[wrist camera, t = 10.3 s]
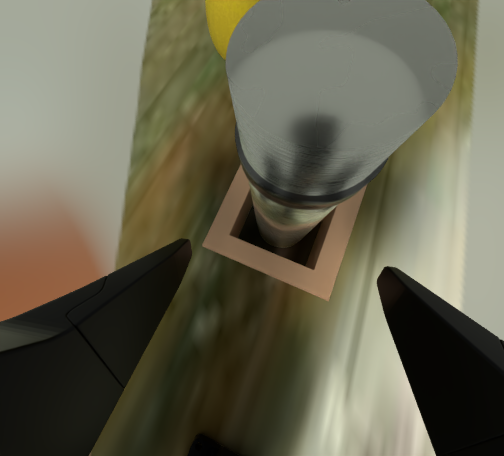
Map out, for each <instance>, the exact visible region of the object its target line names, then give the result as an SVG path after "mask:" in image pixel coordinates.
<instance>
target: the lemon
mask: <svg viewBox="0 0 504 456" xmlns="http://www.w3.org/2000/svg"><path fill="white" fill-rule="evenodd" d="M258 1H260V0H205V3H206V16H207V22H208V27H209V31H210V35H211V38H212V41H213V43H214V45H215V47H216V49H217V51H218V52H219V54H220V55H221V57H222V58H223V59H225V60H226V53H227V47H228V44H229V40H230V37H231V35H232V33H233V31H234V29H235V27H236V26H237V24H238V23H239V21H240V20H241V18H242V17H243V16H244V15H245V14H246V13H247V11H248V10H249V9H250V8H252V7H253V6H254V5H255V4H256V3H257V2H258Z"/></svg>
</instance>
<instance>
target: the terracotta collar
mask: <svg viewBox="0 0 504 456" xmlns="http://www.w3.org/2000/svg"><path fill="white" fill-rule="evenodd" d="M366 187H367V185H366V186H364V187H363V188H362V189H361V190H360V191H359V192H358V193H356V194H355V195H354V196H352V197H351V198H349V199H348V200H346V201H344V202H342V203H340V204H338V205H337V206H336V207H335V208H334V209H333V210H332V211H331V212H330V213H329V214H328V215H327V216H325V217H324V218H323V220H322V222H321V225H320V228H319V230H318V233H317V236H316V239H315V241H314V244H313V247H312V250H311V252H310V255H309V258H308V261H307V263H306V266H302V265H300V264H298V263H295V262H293V261H290V260H288V259H286V258H283V257H281V256H278V255H276V254H274V253H271V252H269V251H266V250H264V249H262V248H259V247H257V246H254V245H252V244H250V243H247V242H245V241H242V240H240V239H238V237H239V234H240V232H241V230H242V228H243V225H244V223H245V221H246V219H247V216H248V214H249V212H250V210H251V207H252V205H253V200H252V196H251V191H250V186H249V181H248V179H247V177H246V175H245V173H244V171H243V169H242V166H241V165H240V167H239V169H238V171H237V173H236V175H235V177H234V179H233V182H232V184H231V186H230V188H229V190H228V192H227V194H226V196H225V198H224V200H223V203H222V205H221V207H220V209H219V211H218V213H217V215H216V217H215V219H214V222H213V224H212V226H211V228H210V230H209V232H208V234H207V236H206V238H205V240H204V243H203V245H202V246H203V247H205V248H208V249H210V250H212V251H214V252H217V253H219V254H221V255H224V256H226V257H228V258H231V259H233V260H235V261H237V262H240V263H242V264H244V265H247V266H249V267H251V268H253V269H256V270H258V271H260V272H263V273H265V274H267V275H270V276H272V277H274V278H276V279H279V280H281V281H283V282H286V283H288V284H290V285H292V286H295V287H297V288H299V289H302V290H304V291H306V292H309V293H311V294H313V295H315V296H318V297H320V298H322V299H325V300H327V301H329V298H330V295H331V292H332V289H333V286H334V283H335V280H336V277H337V274H338V271H339V268H340V265H341V262H342V259H343V256H344V253H345V250H346V247H347V244H348V241H349V238H350V235H351V232H352V229H353V226H354V223H355V220H356V217H357V214H358V211H359V208H360V205H361V202H362V199H363V196H364V193H365V190H366Z"/></svg>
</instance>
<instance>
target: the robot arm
mask: <svg viewBox="0 0 504 456" xmlns="http://www.w3.org/2000/svg"><path fill="white" fill-rule="evenodd" d="M191 256H192V250H191V243H190V240H189V239H183V238H181V239H179V240H177V241H175V242H173V243H171V244H169V245H167V246H165V247H163V248H161V249H159V250H157V251H155V252H153V253H151V254H149V255H147V256H145V257H143V258H141V259H139V260H137V261H135V262H133V263H131V264H129V265H127V266H125V267H123V268H121V269H119V270H117V271H115V272H113V273H111V274H109V275H108V276H104V277H102V278H100V279H99V280H96V281H94V282H92V283H90V284H88V285H86V286H84V287H82V288H80V289H78V290H75V291H73V292H71V293H69V294H66V295H64V296H62V297H59V298H57V299H55V300H53V301H50V302H48V303H46V304H43V305H41V306H39V307H37V308H34V309H32V310H30V311H27V312H25V313H23V314H20V315H18V316H16V317H13V318H10V319H7V320H5V321H1V322H0V456H89V454H90V452H91V450H92V448H93V447H94V445H95V443H96V441H97V439H98V437H99V435H100V433H101V432H102V430H103V428H104V426H105V424H106V422H107V420H108V419H109V417H110V415H111V413H112V411H113V409H114V407H115V406H116V404H117V402H118V400H119V398H120V396H121V394H122V392H123V391H124V388H125V387H126V385H127V383H128V381H129V379H130V377H131V375H132V374H133V372H134V370H135V368H136V366H137V364H138V362H139V361H140V359H141V357H142V355H143V353H144V351H145V349H146V347H147V346H148V344H149V342H150V340H151V338H152V336H153V334H154V333H155V331H156V329H157V327H158V325H159V323H160V321H161V320H162V318H163V316H164V314H165V312H166V310H167V308H168V307H169V305H170V303H171V301H172V299H173V297H174V295H175V293H176V292H177V290H178V288H179V286H180V284H181V282H182V279H183V277H184V274H185V272H186V269H187V267H188V264H189V262H190V259H191ZM377 287H378V291H379V295H380V299H381V303H382V307H383V311H384V314H385V318H386V321H387V323H388V326H389V329H390V332H391V334H392V337H393V340H394V343H395V345H396V348H397V351H398V353H399V356H400V359H401V362H402V364H403V367H404V370H405V372H406V375H407V378H408V381H409V383H410V386H411V389H412V391H413V394H414V397H415V400H416V402H417V405H418V408H419V411H420V413H421V416H422V419H423V421H424V424H425V427H426V430H427V432H428V435H429V438H430V440H431V443H432V446H433V449H434V451H435V454H436V456H504V341H503V340H500V339H499V338H498V337H497V336H495V335H494V334H493V333H491V332H490V331H488V330H487V329H485V328H484V327H482V326H481V325H479V324H478V323H477V322H475V321H474V320H472V319H471V318H469V317H468V316H466V315H465V314H463V313H462V312H460V311H459V310H458V309H456V308H455V307H453V306H452V305H450V304H449V303H447V302H446V301H444V300H443V299H442V298H440V297H439V296H437V295H436V294H434V293H433V292H431V291H430V290H428V289H427V288H425V287H424V286H423V285H421V284H420V283H418V282H417V281H415V280H414V279H412V278H411V277H409V276H408V275H407V274H405V273H404V272H402V271H401V270H399V269H398V268H396V267H389V266H387V267H384V269H383V270H382V272H381V274H380V275H379V277H378V279H377ZM198 442H199V443H201V444H202V446H199V445H198V444H197V443H198ZM187 456H239V455H238V454H236V453H234V452H233V451H231V450H229V449H228V448H226V447H224V446H222V445H220V444H219V443H217V442H215V441H214V440H212V439H210V438H209V437H207V436H205V435H204V434H198V435H196V437H195V438H194V441H193V443H192V445H191V448H190V450H189V453H188V455H187Z"/></svg>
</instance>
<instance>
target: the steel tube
mask: <svg viewBox="0 0 504 456" xmlns="http://www.w3.org/2000/svg"><path fill="white" fill-rule="evenodd" d="M456 71H457V50H456V45H455V41H454V38H453V36H452V33H451V31H450V29H449V27H448V26H447V24H446V22H445V21H444V19H443V18H442V17H441V16H440V14H439V13H438V12H437V11H436V10H435V9H434V8H433V7H432V6H431V5H430V4H429V3H428V2H426V1H425V0H260V1H258V2H257V3H256V4H255V5H254V6H253V7H252V8H250V9H249V10H248V11H247V13H246V14H245V15H244V16H243V17H242V18H241V20H240V21H239V23H238V24H237V26H236V27H235V29H234V31H233V33H232V35H231V37H230V40H229V44H228V47H227V53H226V72H227V77H228V82H229V87H230V92H231V97H232V102H233V107H234V112H235V117H236V127H235V141H236V146H237V151H238V155H239V159H240V163H241V166H242V169H243V171H244V173H245V175H246V177H247V179H248V181H249V186H250V191H251V196H252V200H253V205H254V210H255V215H256V220H257V225H258V230H259V233H260V235H261V237H262V238H263V239H264V240H265V241H266V242H267V243H268V244H270V245H272V246H275V247H279V248H286V247H290V246H293V245H295V244H296V243H298V242H299V241H300V240H301V239H302V238H303V237H304V236H305V235H306V234H308V233H309V232H310V231H311V230H312V229H313V228H314V227H315V226H316V225H317V224H318V223H319V222H320V221H321V220H322V219H323V218H324V217H325V216H327V215H328V214H329V213H330V212H331V211H332V210H333V209H334V208H335V207H336V206H337V205H338V204H340V203H342V202H344V201H346V200H348V199H349V198H351V197H352V196H354V195H355V194H356V193H358V192H359V191H360V190H361V189H362V188H363V187H364V186H366V185H367V184H368V183H369V182H370V181H371V180H372V179H373V178H375V177H376V176H377V174H378V173H379V172H380V171H381V170H382V168H383V167H384V165H385V163H386V162H387V160H388V157H389V156H390V155H391V154H392V153H393V152H394V151H395V150H396V149H397V148H398V147H399V146H400V145H401V144H402V143H404V142H405V141H406V140H407V139H408V138H409V137H410V136H411V135H412V134H413V133H414V132H415V131H416V130H417V129H418V128H419V127H420V126H421V125H423V124H424V123H425V122H426V121H427V120H428V119H429V118H430V117H431V116H432V115H433V114H434V113H435V112H436V111H437V110H438V109H439V107H440V106H441V105H442V104H443V102H444V101H445V99H446V98H447V96H448V94H449V92H450V91H451V89H452V86H453V83H454V80H455V77H456Z"/></svg>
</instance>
